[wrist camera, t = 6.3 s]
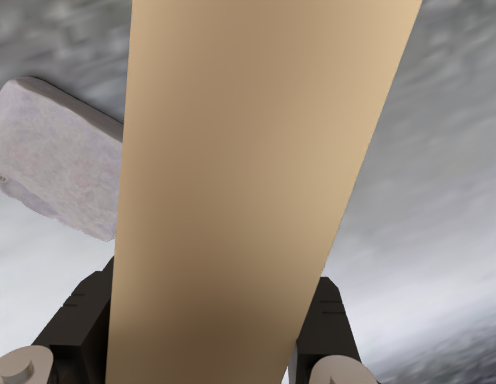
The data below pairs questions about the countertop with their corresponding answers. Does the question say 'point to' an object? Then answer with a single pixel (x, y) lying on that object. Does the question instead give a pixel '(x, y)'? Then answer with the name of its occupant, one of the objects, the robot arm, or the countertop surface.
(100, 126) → the stone block
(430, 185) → the countertop surface
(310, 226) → the oak batten
